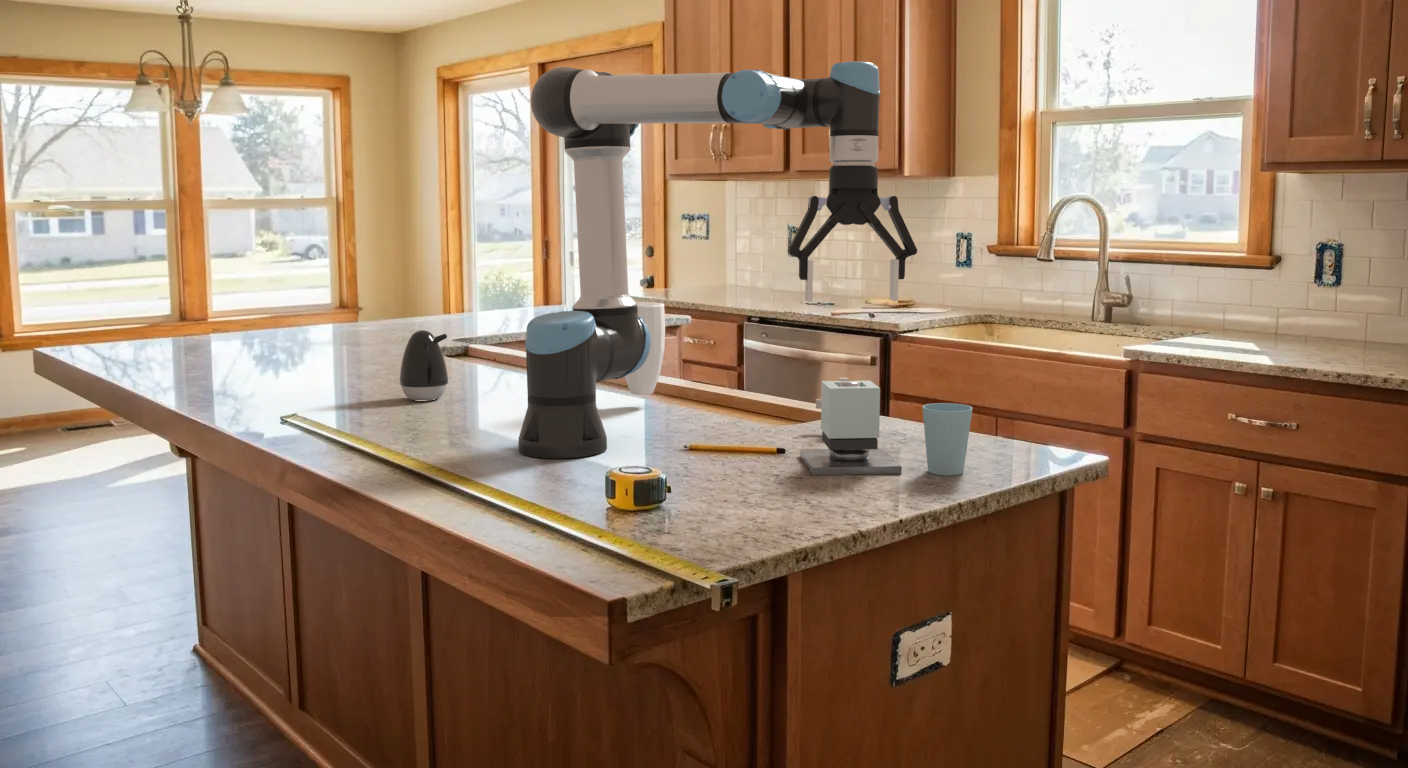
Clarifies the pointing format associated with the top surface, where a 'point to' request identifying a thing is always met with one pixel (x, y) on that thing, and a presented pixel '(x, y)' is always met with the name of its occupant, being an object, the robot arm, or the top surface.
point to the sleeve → (850, 410)
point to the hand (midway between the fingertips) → (851, 300)
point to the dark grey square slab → (850, 443)
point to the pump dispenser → (423, 367)
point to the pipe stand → (849, 458)
